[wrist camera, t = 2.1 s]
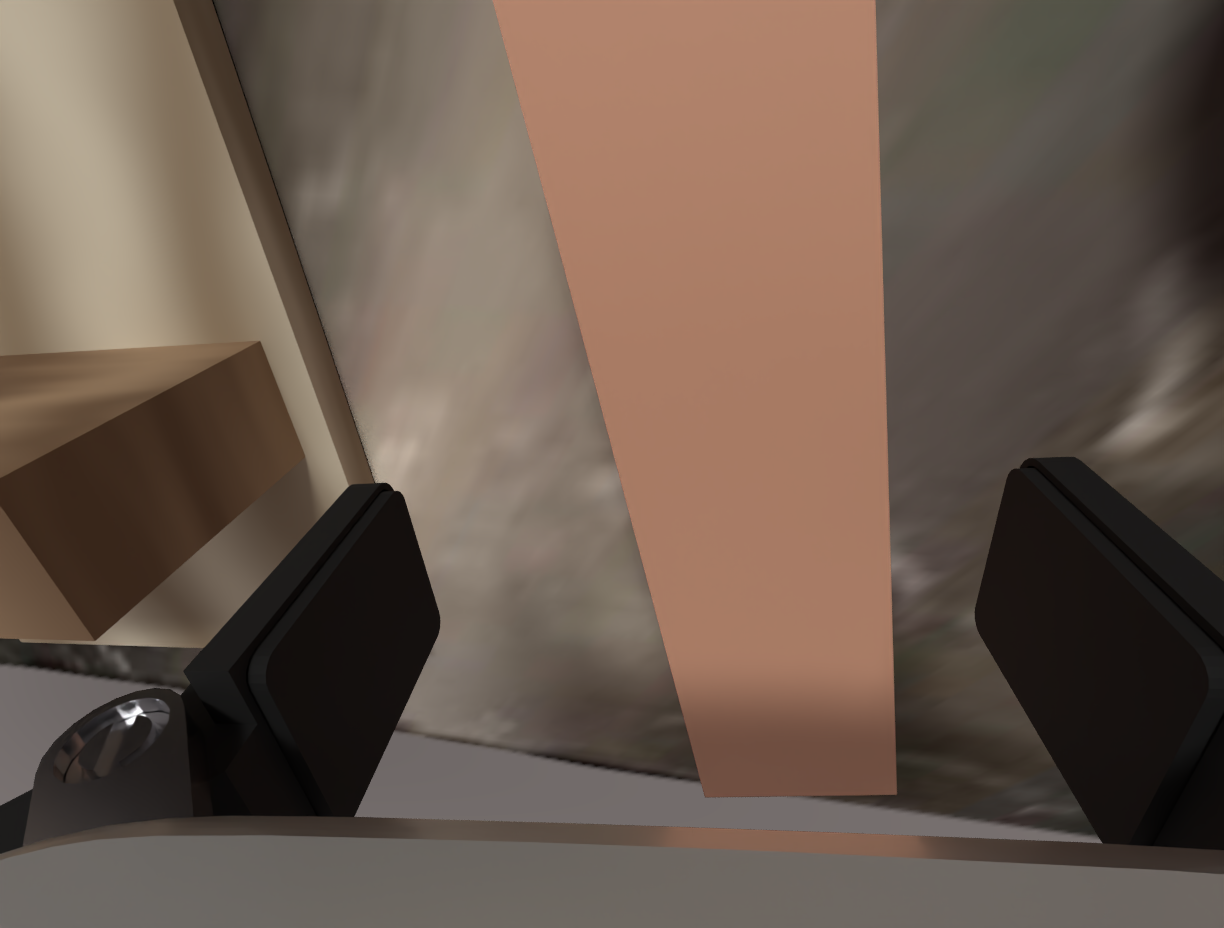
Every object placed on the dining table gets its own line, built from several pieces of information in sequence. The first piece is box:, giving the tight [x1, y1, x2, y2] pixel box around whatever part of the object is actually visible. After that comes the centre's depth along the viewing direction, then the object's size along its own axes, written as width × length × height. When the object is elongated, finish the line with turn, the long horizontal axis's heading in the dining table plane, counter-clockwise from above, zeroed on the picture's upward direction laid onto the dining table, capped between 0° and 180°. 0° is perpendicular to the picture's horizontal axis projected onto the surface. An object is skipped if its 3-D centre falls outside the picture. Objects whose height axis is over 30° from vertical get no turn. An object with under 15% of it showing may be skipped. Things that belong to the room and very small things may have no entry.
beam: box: [493, 0, 897, 797], centre depth 13 cm, size 4×18×6 cm, turn 13°
